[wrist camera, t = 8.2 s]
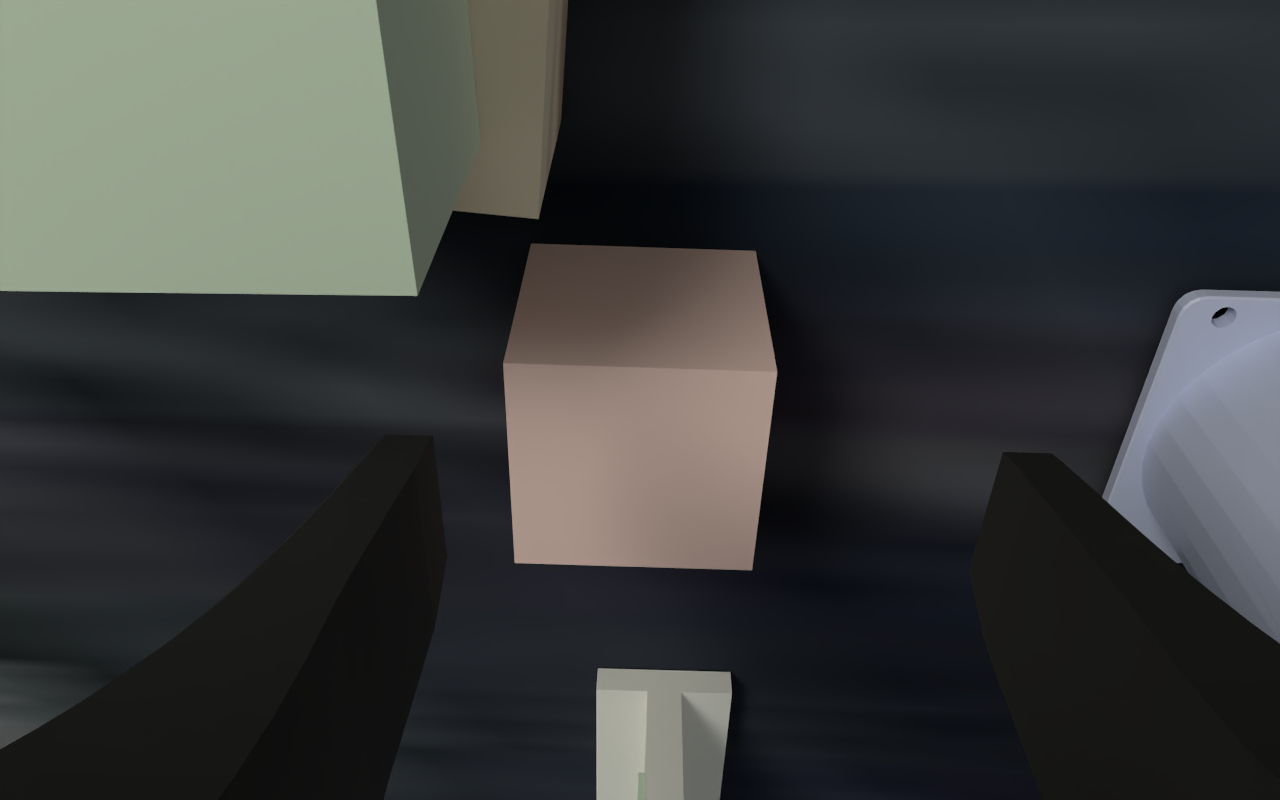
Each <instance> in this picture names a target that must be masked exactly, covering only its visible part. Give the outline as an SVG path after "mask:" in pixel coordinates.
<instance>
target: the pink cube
mask: <svg viewBox="0 0 1280 800" xmlns="http://www.w3.org/2000/svg"><path fill="white" fill-rule="evenodd" d="M503 368H504V385H505V403H506V420H507V437H508V454H509V471H510V489H511V506H512V523H513V540H514V557H515V563H533V564H565V565H598V566H630V567H662V568H695V569H727V570H752V566H753V558H754V550H755V543H756V535H757V527H758V519H759V511H760V504H761V496H762V488H763V480H764V472H765V464H766V457H767V449H768V441H769V433H770V425H771V417H772V410H773V402H774V394H775V386H776V378H777V367H776V362H775V356H774V351H773V345H772V339H771V334H770V328H769V323H768V317H767V312H766V306H765V300H764V295H763V289H762V284H761V278H760V273H759V267H758V261H757V256H756V251H742V250H711V249H681V248H651V247H621V246H591V245H561V244H531V246H530V250H529V255H528V259H527V263H526V267H525V272H524V276H523V280H522V285H521V289H520V293H519V298H518V302H517V306H516V310H515V315H514V319H513V323H512V328H511V332H510V336H509V340H508V345H507V349H506V353H505V358H504V362H503Z"/></svg>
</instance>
